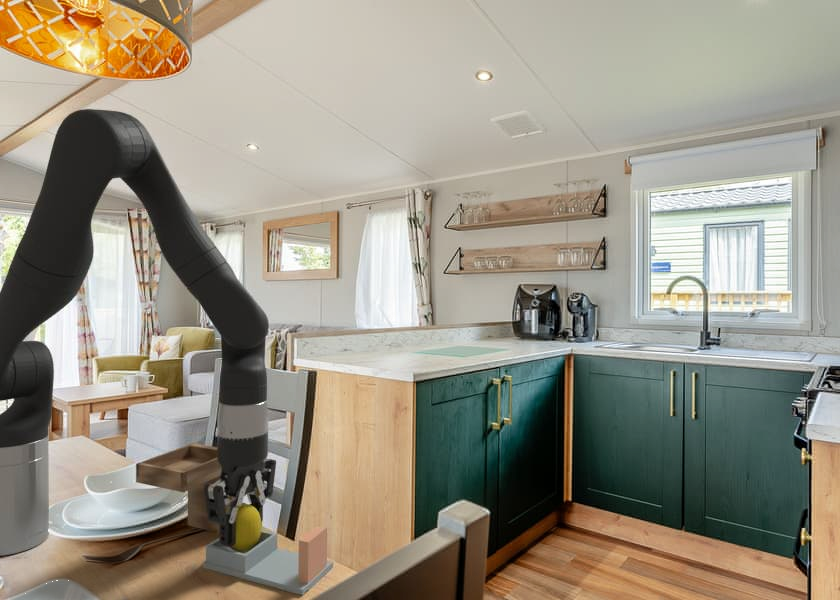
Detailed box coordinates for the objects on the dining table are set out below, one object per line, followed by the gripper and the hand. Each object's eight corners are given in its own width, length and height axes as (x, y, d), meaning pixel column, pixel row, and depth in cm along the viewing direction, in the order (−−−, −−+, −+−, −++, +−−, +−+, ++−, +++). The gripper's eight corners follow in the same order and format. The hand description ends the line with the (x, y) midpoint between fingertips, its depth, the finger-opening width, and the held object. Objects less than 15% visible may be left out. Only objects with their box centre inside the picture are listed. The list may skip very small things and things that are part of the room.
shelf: (136, 553, 83) (136, 463, 83) (192, 522, 94) (193, 443, 94) (183, 566, 80) (183, 472, 79) (236, 533, 90) (237, 450, 90)
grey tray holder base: (203, 567, 79) (203, 523, 79) (239, 543, 87) (239, 503, 87) (302, 595, 73) (303, 547, 72) (333, 566, 80) (333, 523, 80)
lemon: (238, 566, 78) (239, 514, 77) (216, 555, 81) (217, 504, 81) (268, 551, 82) (269, 501, 82) (246, 541, 85) (247, 493, 85)
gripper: (229, 445, 73) (228, 564, 74) (290, 421, 86) (289, 521, 87) (188, 438, 76) (187, 552, 76) (254, 416, 89) (253, 513, 90)
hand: (242, 535), depth 82 cm, fingers closed on lemon, 5 cm apart
